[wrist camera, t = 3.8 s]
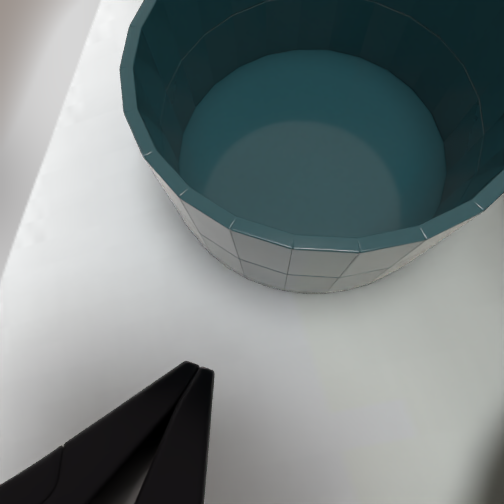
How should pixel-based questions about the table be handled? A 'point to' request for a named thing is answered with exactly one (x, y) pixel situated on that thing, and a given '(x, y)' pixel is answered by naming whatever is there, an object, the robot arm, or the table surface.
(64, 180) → the table surface
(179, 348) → the table surface
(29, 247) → the table surface
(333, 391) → the table surface
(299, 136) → the bowl
